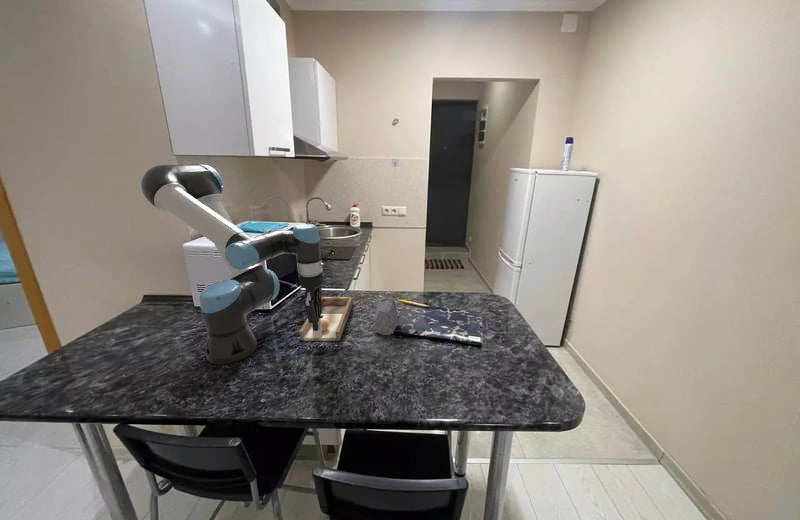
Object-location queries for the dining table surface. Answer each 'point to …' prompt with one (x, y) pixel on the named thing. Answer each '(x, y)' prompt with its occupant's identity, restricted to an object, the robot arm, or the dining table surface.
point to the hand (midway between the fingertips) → (317, 336)
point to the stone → (386, 317)
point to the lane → (330, 319)
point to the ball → (324, 325)
